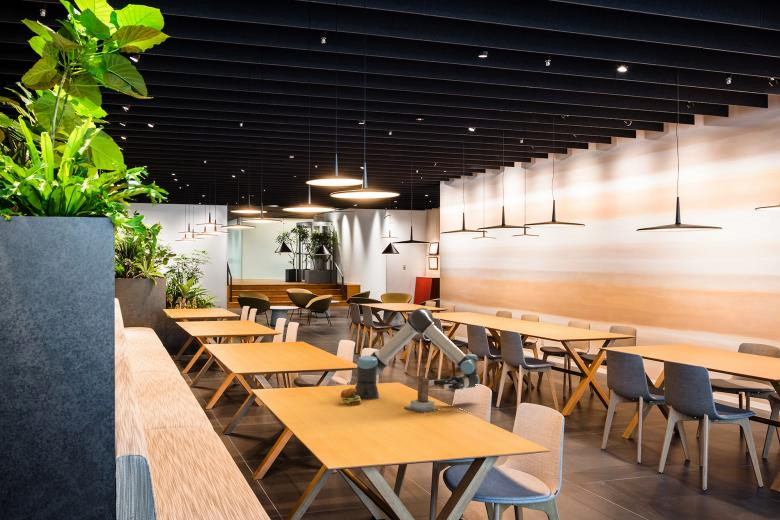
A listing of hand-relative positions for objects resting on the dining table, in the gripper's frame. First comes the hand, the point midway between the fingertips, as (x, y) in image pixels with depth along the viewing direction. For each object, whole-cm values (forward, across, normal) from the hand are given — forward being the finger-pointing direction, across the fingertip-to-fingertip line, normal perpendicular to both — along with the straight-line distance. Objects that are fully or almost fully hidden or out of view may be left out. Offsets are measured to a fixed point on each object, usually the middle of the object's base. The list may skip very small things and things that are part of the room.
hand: (434, 385), depth 369 cm
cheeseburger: (+33, +32, -12) cm, 48 cm away
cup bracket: (+10, 0, -12) cm, 16 cm away
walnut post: (+10, 0, -11) cm, 15 cm away
